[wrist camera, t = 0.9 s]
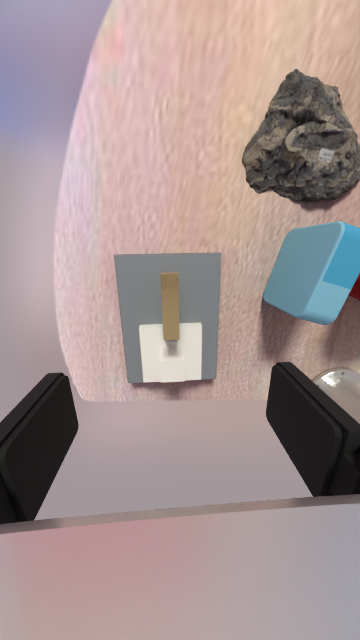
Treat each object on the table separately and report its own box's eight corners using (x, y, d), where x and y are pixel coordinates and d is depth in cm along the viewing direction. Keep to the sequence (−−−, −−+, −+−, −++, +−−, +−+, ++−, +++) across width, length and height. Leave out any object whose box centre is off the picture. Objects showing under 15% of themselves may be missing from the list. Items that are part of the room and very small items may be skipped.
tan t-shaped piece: (176, 335, 35) (180, 361, 27) (165, 335, 35) (164, 361, 27) (175, 267, 32) (178, 273, 24) (162, 267, 32) (160, 274, 23)
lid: (199, 374, 38) (206, 398, 32) (144, 377, 38) (139, 402, 32) (200, 322, 35) (207, 337, 29) (140, 324, 35) (134, 340, 28)
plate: (212, 370, 42) (216, 378, 39) (130, 373, 41) (127, 383, 38) (216, 252, 35) (221, 252, 32) (118, 254, 34) (113, 254, 31)
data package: (283, 305, 38) (332, 329, 27) (260, 299, 38) (300, 320, 26) (312, 237, 35) (382, 230, 23) (287, 229, 34) (348, 218, 23)
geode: (258, 64, 28) (234, 191, 32) (272, 36, 24) (243, 184, 29) (385, 95, 30) (346, 211, 34) (416, 73, 26) (367, 207, 31)
